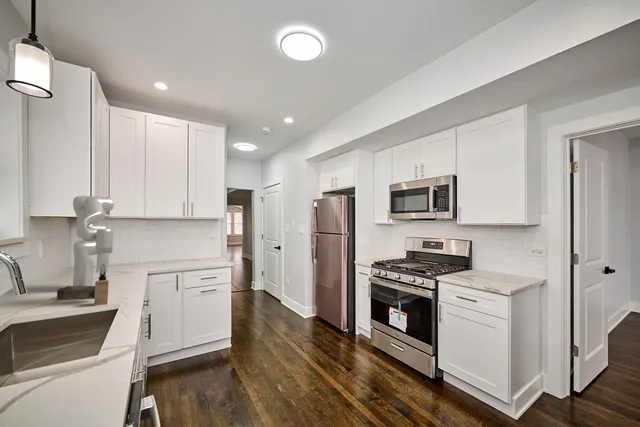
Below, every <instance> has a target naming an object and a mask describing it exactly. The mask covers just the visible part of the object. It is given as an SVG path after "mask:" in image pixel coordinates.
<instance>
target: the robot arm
mask: <svg viewBox="0 0 640 427" xmlns="http://www.w3.org/2000/svg"><path fill="white" fill-rule="evenodd" d="M114 206H115V203H114V200H113V199H112V198H111V197H108V196H107V197H105V196H93V195H92V196H90V195H77V196H75V197H74V198H73V200H72V207H73V211H74V212H75V216H76V236H77V237H78V238H79V239H81V240H79V241H76V242H74V244H73V246H72V251H73V259H74V260H73V276H72V277H73V278H72V286H93V280H94V264H95V263H94V260H93V259H92V258H91V257H90V256H96V269H95V271H96V273H98V272H99V277H98V281H103V280H107V272H108V270H109V263H110V255H111V254H113V245H114V244H113V242H114V231H113V229H112V228H108V226H107V225H106V224H105V223H104V224H103V223H99V222H101V221H103V220H104V219H105V218H106V213H105V211H108V212H109V211H112V210H114Z"/></svg>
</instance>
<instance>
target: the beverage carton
mask: <svg viewBox="0 0 640 427" xmlns="http://www.w3.org/2000/svg"><path fill="white" fill-rule="evenodd" d="M94 298H95V285H92V286H73V285H70V286H69V285H68V286H67V285H66V286H64V287H61V288H58V289H56V301H58V300H60V301H62V300H63V301H64V300H67V301H68V300H91V299H92V300H93V299H94Z"/></svg>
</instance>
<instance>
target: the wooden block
mask: <svg viewBox="0 0 640 427" xmlns="http://www.w3.org/2000/svg"><path fill="white" fill-rule="evenodd" d="M94 282H95V283H94V286H95V298H94V301H93V304H94V305H93V307H99V306H100V307H101V306H107V305H108V297H109V283H110V282H109V279H106V280H103V281H99V280H95V281H94Z"/></svg>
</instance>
